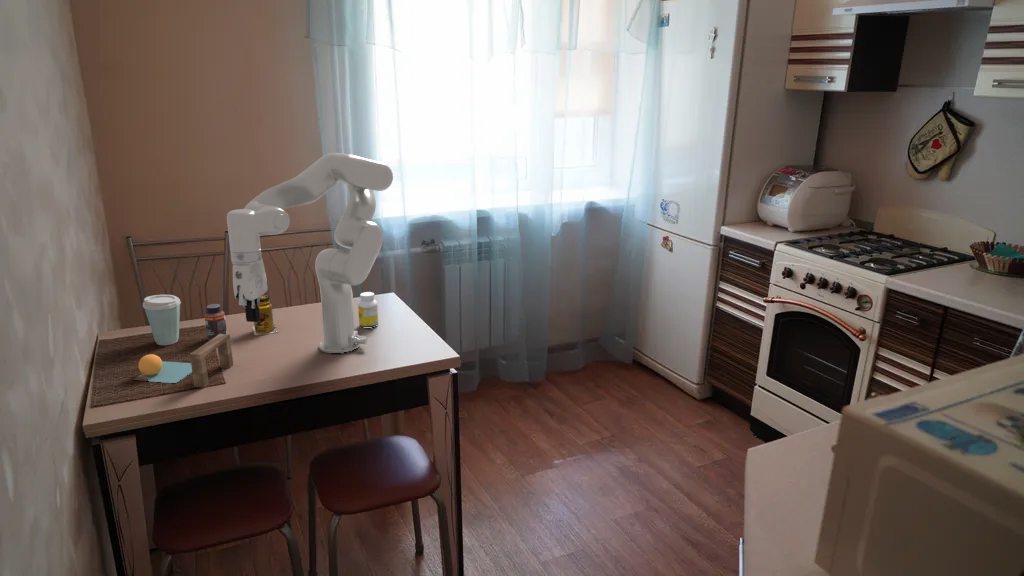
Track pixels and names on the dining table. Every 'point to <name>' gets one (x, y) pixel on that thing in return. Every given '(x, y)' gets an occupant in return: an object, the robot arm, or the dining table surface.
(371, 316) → the pill bottle
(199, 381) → the bridge
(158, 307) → the disposable coffee cup
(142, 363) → the ball
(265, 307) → the condiment
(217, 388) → the dining table surface
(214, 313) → the supplement bottle
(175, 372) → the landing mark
